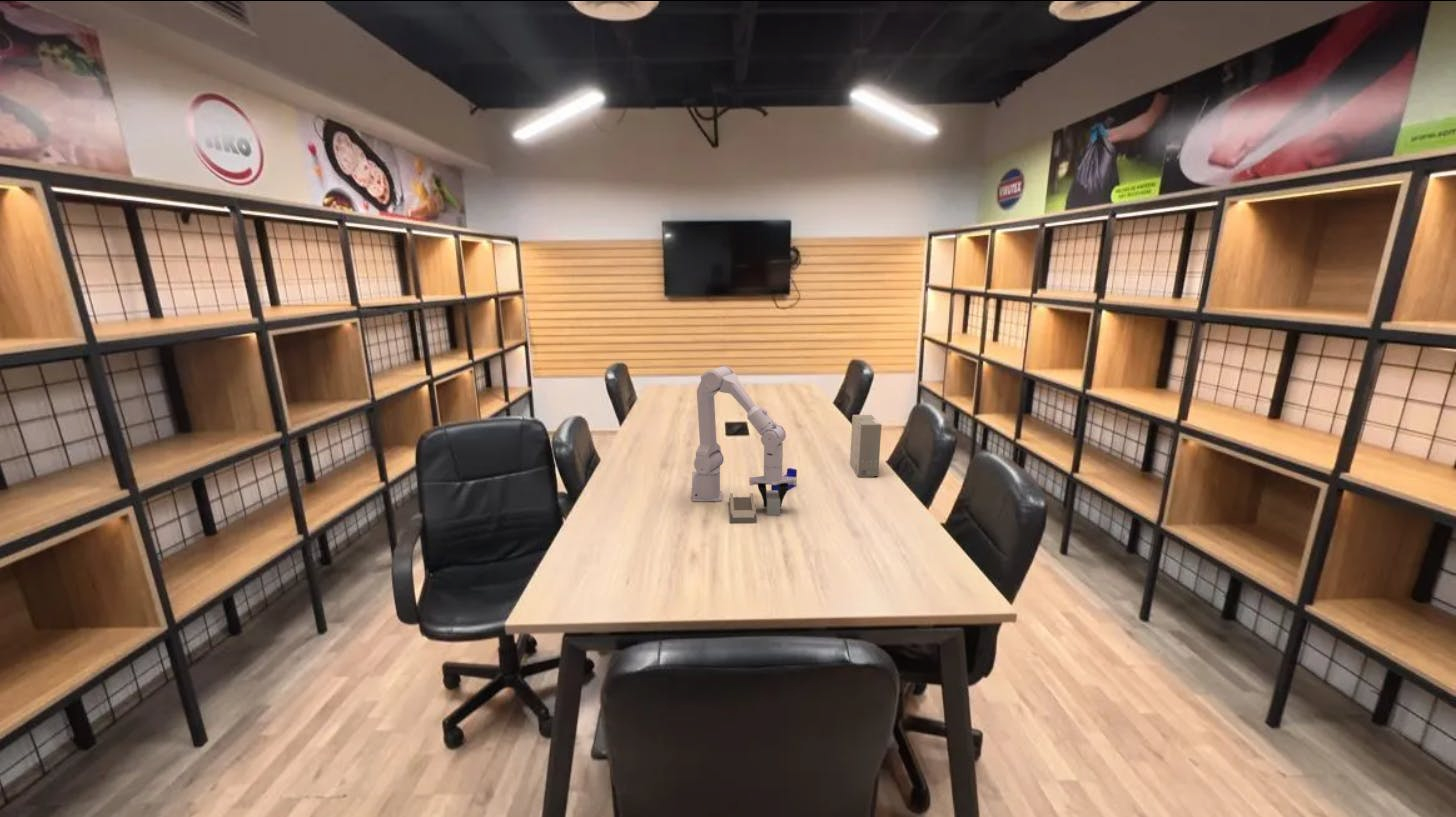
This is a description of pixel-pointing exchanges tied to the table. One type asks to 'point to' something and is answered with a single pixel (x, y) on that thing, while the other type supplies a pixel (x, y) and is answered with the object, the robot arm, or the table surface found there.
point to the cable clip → (790, 473)
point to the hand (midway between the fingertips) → (772, 505)
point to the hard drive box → (865, 445)
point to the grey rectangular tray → (742, 509)
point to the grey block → (772, 503)
